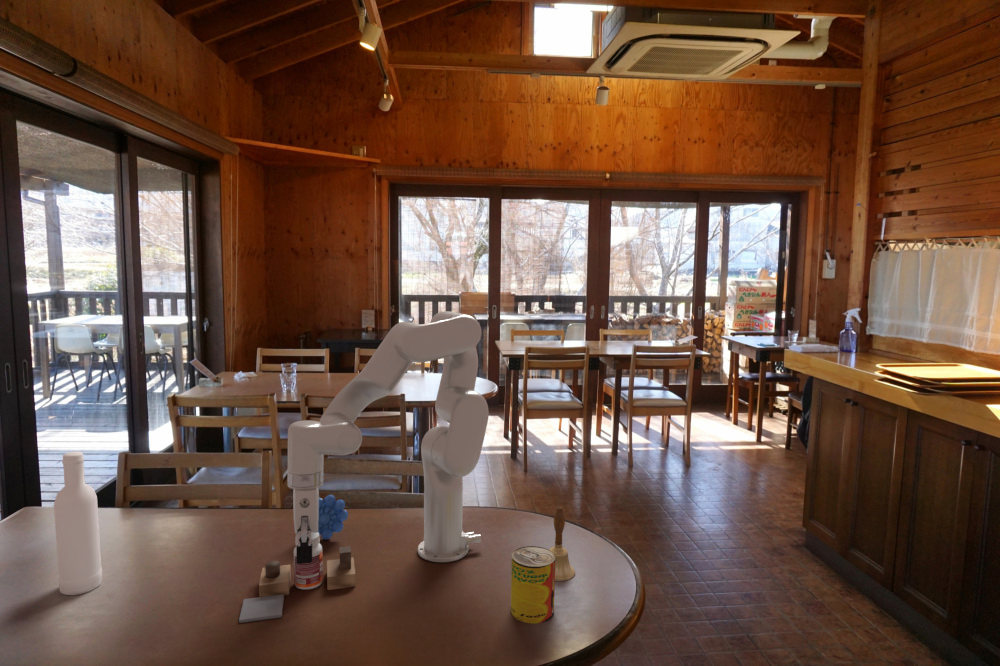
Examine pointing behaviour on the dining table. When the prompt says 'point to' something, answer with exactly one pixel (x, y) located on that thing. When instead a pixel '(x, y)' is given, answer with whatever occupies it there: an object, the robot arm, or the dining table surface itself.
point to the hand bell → (561, 550)
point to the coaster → (261, 608)
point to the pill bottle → (309, 566)
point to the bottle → (77, 530)
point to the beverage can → (532, 584)
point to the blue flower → (331, 516)
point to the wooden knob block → (279, 577)
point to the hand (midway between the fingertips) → (304, 552)
